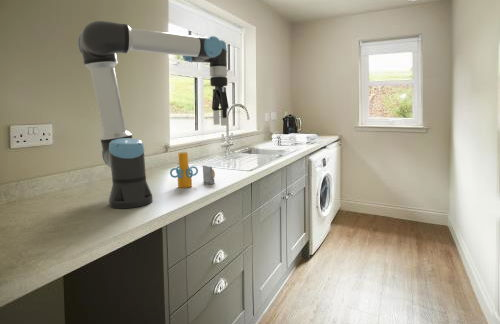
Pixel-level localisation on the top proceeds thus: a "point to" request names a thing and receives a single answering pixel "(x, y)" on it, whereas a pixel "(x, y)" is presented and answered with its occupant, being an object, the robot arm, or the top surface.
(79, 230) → the top surface
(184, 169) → the orange block with rings
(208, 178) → the grey stone
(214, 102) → the robot arm
